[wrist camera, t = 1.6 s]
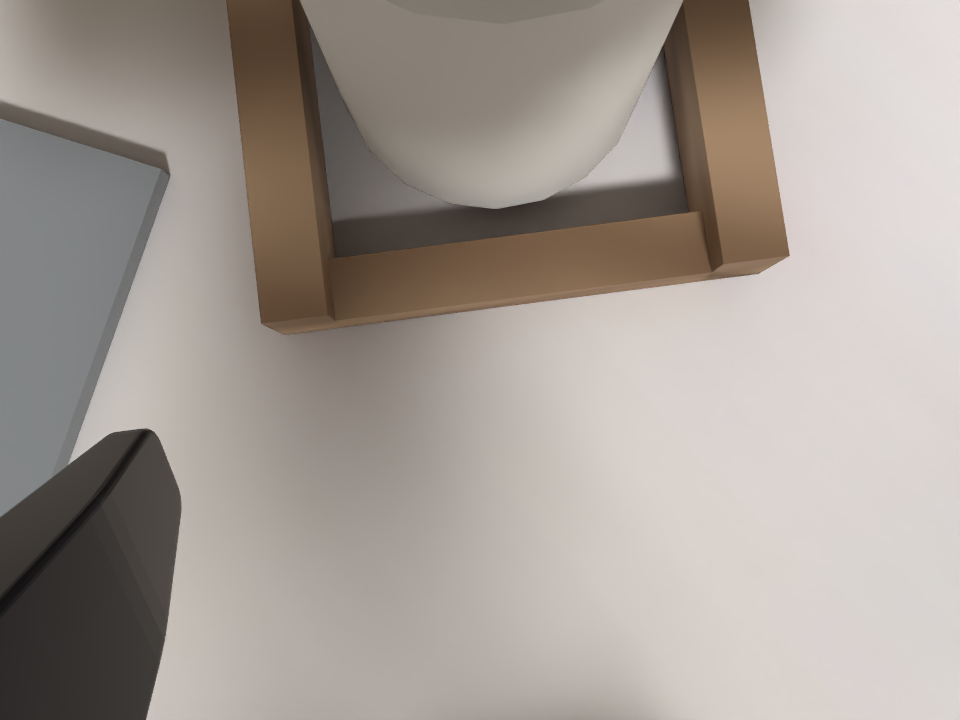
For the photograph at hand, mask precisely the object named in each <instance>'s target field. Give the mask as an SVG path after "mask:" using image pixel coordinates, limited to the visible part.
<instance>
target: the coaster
mask: <svg viewBox="0 0 960 720" xmlns="http://www.w3.org/2000/svg"><path fill="white" fill-rule="evenodd" d="M169 178H170V175H168V174H167V173H166V172H165V171H163V170H162V169H160V168H157V167H154V166H151V165H147V164H144V163H141V162H138V161H135V160H132V159H128V158H125V157H122V156H119V155H116V154H112V153H109V152H106V151H103V150H100V149H96V148H93V147H90V146H87V145H84V144H80V143H77V142H74V141H71V140H68V139H64V138H61V137H58V136H55V135H52V134H48V133H45V132H42V131H39V130H36V129H32V128H29V127H26V126H23V125H20V124H17V123H13V122H10V121H7V120H4V119H1V118H0V517H1V516H2V515H3V514H5V513H6V512H7V511H9V510H10V509H11V508H13V507H14V506H15V505H17V504H18V503H19V502H21V501H22V500H23V499H24V498H26V497H27V496H28V495H30V494H31V493H32V492H34V491H35V490H36V489H38V488H39V487H40V486H42V485H43V484H44V483H45V482H47V481H48V480H49V479H51V478H52V477H53V476H55V475H56V474H57V473H59V472H60V471H61V470H63V469H64V468H65V467H67V465H68V462H69V459H70V457H71V454H72V451H73V448H74V445H75V443H76V440H77V437H78V434H79V431H80V429H81V426H82V423H83V420H84V417H85V414H86V412H87V409H88V406H89V403H90V400H91V398H92V395H93V392H94V389H95V386H96V384H97V381H98V378H99V375H100V372H101V369H102V367H103V364H104V361H105V358H106V355H107V353H108V350H109V347H110V344H111V341H112V339H113V336H114V333H115V330H116V327H117V324H118V322H119V319H120V316H121V313H122V310H123V308H124V305H125V302H126V299H127V296H128V293H129V291H130V288H131V285H132V282H133V279H134V277H135V274H136V271H137V268H138V265H139V263H140V260H141V257H142V254H143V251H144V248H145V246H146V243H147V240H148V237H149V234H150V232H151V229H152V226H153V223H154V220H155V218H156V215H157V212H158V209H159V206H160V203H161V201H162V198H163V195H164V192H165V189H166V187H167V184H168V181H169Z"/></svg>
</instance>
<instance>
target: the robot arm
mask: <svg viewBox="0 0 960 720" xmlns="http://www.w3.org/2000/svg"><path fill="white" fill-rule="evenodd" d="M180 517H181V496H180V491H179V488H178V485H177V483H176V480H175V478H174V475H173V472H172V470H171V467H170V465H169V462H168V460H167V457H166V455H165V452H164V450H163V447H162V445H161V442H160V440H159V438H158V436H157V435H156V434H155V432H153V431H152V430H150V429H146V428H145V429H136V430H129V431H121V432H114V433H111V434H109V435H107V436H106V437H105V438H103V439H102V440H101V441H99V442H98V443H97V444H95V445H94V446H93V447H91V448H90V449H89V450H88V451H86V452H85V453H84V454H82V455H81V456H80V457H78V458H77V459H76V460H74V461H73V462H72V463H70V464H69V465H68V466H67V467H65V468H64V469H63V470H61V471H60V472H59V473H57V474H56V475H55V476H53V477H52V478H51V479H49V480H48V481H47V482H45V483H44V484H43V485H42V486H40V487H39V488H38V489H36V490H35V491H34V492H32V493H31V494H30V495H28V496H27V497H26V498H24V499H23V500H22V501H21V502H19V503H18V504H17V505H15V506H14V507H13V508H11V509H10V510H9V511H7V512H6V513H5V514H3V515H2V516H1V517H0V720H146V717H147V713H148V709H149V705H150V701H151V697H152V693H153V689H154V685H155V681H156V677H157V673H158V669H159V665H160V660H161V656H162V651H163V646H164V642H165V636H166V629H167V623H168V615H169V607H170V599H171V591H172V583H173V574H174V566H175V558H176V550H177V542H178V534H179V526H180Z"/></svg>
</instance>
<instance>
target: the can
mask: <svg viewBox="0 0 960 720" xmlns="http://www.w3.org/2000/svg"><path fill="white" fill-rule="evenodd" d="M300 2H301V4H302V7H303V9H304V11H305V14H306V16H307V18H308V21H309V23H310V25H311V27H312V30H313V32H314V34H315V37H316V39H317V41H318V43H319V46H320V48H321V50H322V53H323V55H324V57H325V60H326V62H327V64H328V66H329V69H330V71H331V73H332V76H333V78H334V80H335V82H336V85H337V87H338V89H339V92H340V94H341V96H342V99H343V101H344V103H345V105H346V108H347V110H348V112H349V114H350V116H351V117H352V119H353V121H354V123H355V125H356V126H357V128H358V130H359V132H360V134H361V135H362V137H363V139H364V141H365V143H366V144H367V146H368V148H369V150H370V152H372V153H373V154H374V155H375V156H376V157H377V158H378V159H379V160H380V161H381V162H382V163H383V164H385V165H386V166H387V167H388V168H389V169H390V170H391V171H392V172H393V173H394V174H395V175H396V176H398V177H399V178H400V179H401V180H402V181H403V182H404V183H405V184H407V185H410V186H412V187H414V188H416V189H418V190H420V191H423V192H425V193H427V194H429V195H431V196H434V197H436V198H438V199H440V200H442V201H444V202H447V203H450V204H458V205H466V206H475V207H483V208H491V209H499V208H505V207H510V206H515V205H520V204H526V203H531V202H536V201H541V200H545V199H546V198H548V197H550V196H552V195H554V194H556V193H557V192H559V191H561V190H563V189H565V188H567V187H568V186H570V185H572V184H574V183H576V182H578V181H579V180H581V179H583V178H585V177H586V176H587V175H588V174H589V173H590V172H591V171H592V170H593V169H594V168H595V167H596V166H597V165H598V163H599V162H600V161H601V160H602V159H603V158H604V157H605V156H606V155H607V154H608V153H609V152H610V151H611V150H612V149H613V148H614V147H615V146H616V144H617V143H618V142H619V140H620V137H621V135H622V133H623V131H624V129H625V127H626V125H627V122H628V120H629V118H630V116H631V114H632V112H633V110H634V108H635V105H636V103H637V101H638V99H639V97H640V95H641V92H642V90H643V88H644V86H645V84H646V81H647V79H648V77H649V75H650V73H651V70H652V68H653V66H654V64H655V62H656V59H657V57H658V55H659V53H660V51H661V48H662V46H663V44H664V42H665V40H666V37H667V35H668V33H669V31H670V29H671V26H672V24H673V22H674V20H675V18H676V15H677V13H678V11H679V9H680V7H681V4H682V2H683V0H300Z"/></svg>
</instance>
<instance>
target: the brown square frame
mask: <svg viewBox="0 0 960 720" xmlns="http://www.w3.org/2000/svg"><path fill="white" fill-rule="evenodd" d="M226 1H227V11H228V20H229V29H230V38H231V48H232V57H233V66H234V76H235V85H236V94H237V104H238V113H239V122H240V131H241V141H242V150H243V159H244V169H245V178H246V187H247V197H248V206H249V215H250V225H251V234H252V243H253V252H254V262H255V271H256V280H257V290H258V299H259V308H260V318H261V324H263V325H265V326H267V327H269V328H271V329H274V330H276V331H278V332H280V333H282V334H284V335H286V334H294V333H302V332H309V331H317V330H325V329H333V328H340V327H348V326H356V325H364V324H372V323H379V322H387V321H395V320H403V319H410V318H418V317H426V316H434V315H441V314H449V313H457V312H465V311H473V310H480V309H488V308H496V307H504V306H511V305H519V304H527V303H535V302H542V301H550V300H558V299H566V298H574V297H581V296H589V295H597V294H605V293H612V292H620V291H628V290H636V289H643V288H651V287H659V286H667V285H675V284H682V283H690V282H698V281H706V280H713V279H721V278H729V277H737V276H744V275H752V274H759V273H761V272H762V271H764V270H766V269H767V268H769V267H771V266H773V265H774V264H776V263H778V262H780V261H781V260H783V259H785V258H786V257H788V256H790V255H789V249H788V243H787V237H786V230H785V224H784V218H783V212H782V206H781V199H780V193H779V187H778V181H777V175H776V168H775V162H774V156H773V150H772V144H771V138H770V131H769V125H768V119H767V113H766V107H765V100H764V94H763V88H762V82H761V76H760V69H759V63H758V57H757V51H756V45H755V39H754V32H753V26H752V20H751V14H750V8H749V1H748V0H683V2H682V4H681V7H680V9H679V11H678V13H677V15H676V18H675V20H674V22H673V24H672V26H671V29H670V31H669V33H668V35H667V37H666V40H665V42H664V44H663V46H664V53H665V59H666V66H667V72H668V79H669V86H670V92H671V99H672V105H673V112H674V118H675V125H676V132H677V138H678V145H679V151H680V158H681V164H682V171H683V178H684V184H685V191H686V197H687V204H688V210H689V213H682V214H674V215H666V216H658V217H650V218H643V219H635V220H627V221H619V222H612V223H604V224H596V225H588V226H580V227H573V228H565V229H557V230H549V231H542V232H534V233H526V234H518V235H510V236H503V237H495V238H487V239H479V240H472V241H464V242H456V243H448V244H440V245H433V246H425V247H417V248H409V249H402V250H394V251H386V252H378V253H370V254H363V255H355V256H347V257H339V258H336V255H335V247H334V238H333V229H332V221H331V212H330V203H329V195H328V186H327V178H326V169H325V160H324V152H323V143H322V134H321V126H320V117H319V108H318V100H317V91H316V83H315V74H314V65H313V57H312V48H311V39H310V31H309V22H308V18H307V16H306V14H305V11H304V9H303V7H302V4H301V2H300V0H226Z"/></svg>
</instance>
